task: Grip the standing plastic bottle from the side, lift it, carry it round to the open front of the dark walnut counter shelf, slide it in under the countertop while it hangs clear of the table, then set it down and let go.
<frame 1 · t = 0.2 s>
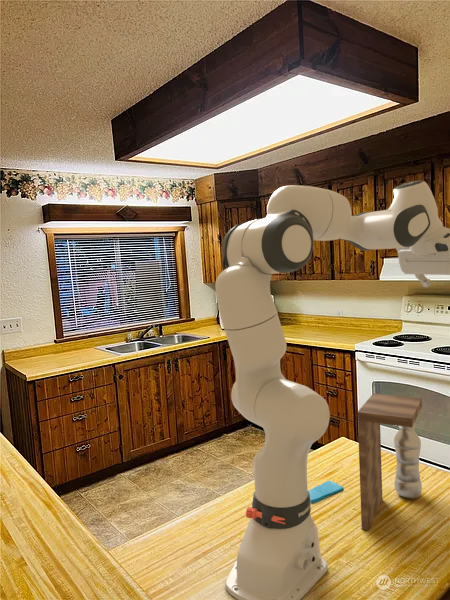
hand: (443, 286, 119), 54 cm above the counter, tool tilted 25°, fingers open, 8 cm apart
sponge: (320, 494, 122), on the counter
plastic bottle: (408, 496, 118), on the counter
counter shelf: (394, 518, 108), on the counter
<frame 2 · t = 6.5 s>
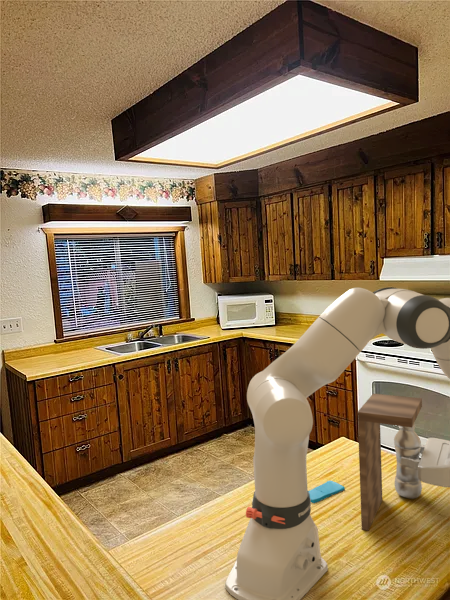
hand: (403, 454, 117), 11 cm above the counter, tool horizontal, fingers closed on plastic bottle, 6 cm apart
plastic bottle: (408, 496, 118), on the counter, touching gripper
everything else where it was.
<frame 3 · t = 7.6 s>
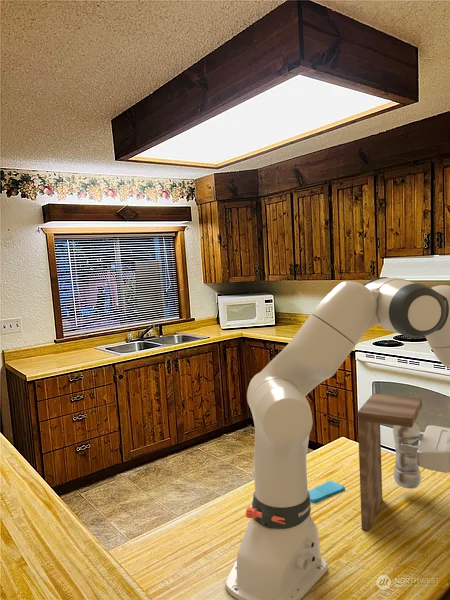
hand: (402, 441, 117), 15 cm above the counter, tool horizontal, fingers open, 6 cm apart
plastic bottle: (407, 486, 118), point 2 cm above the counter
everything else where it was.
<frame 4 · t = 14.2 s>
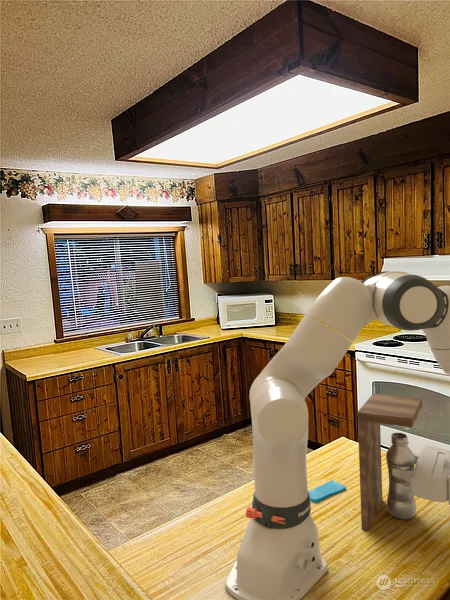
hand: (395, 464, 108), 13 cm above the counter, tool horizontal, fingers closed on plastic bottle, 6 cm apart
plastic bottle: (401, 516, 109), on the counter, touching gripper
everything else where it was.
when the fingers open (13 cm above the counter, at t = 14.2 s): plastic bottle stays where it is, on the counter.
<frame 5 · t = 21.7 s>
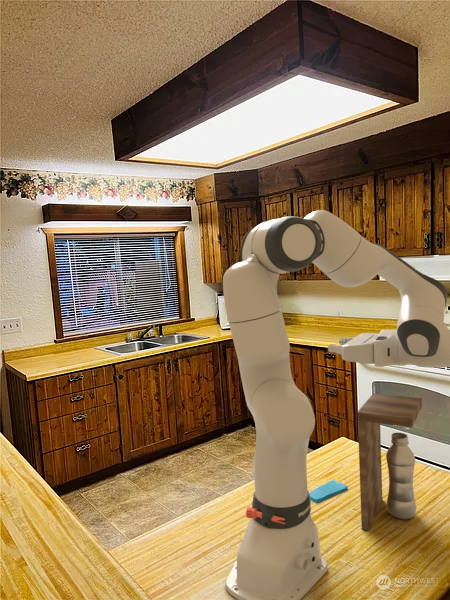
hand: (334, 344, 120), 40 cm above the counter, tool horizontal, fingers open, 8 cm apart
plastic bottle: (401, 516, 109), on the counter
at the end: plastic bottle inside the target area on the counter shelf (2.6 cm from its centre), point 0.0 cm above the counter shelf's base; plastic bottle tilted 0°; the gripper is holding nothing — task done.
